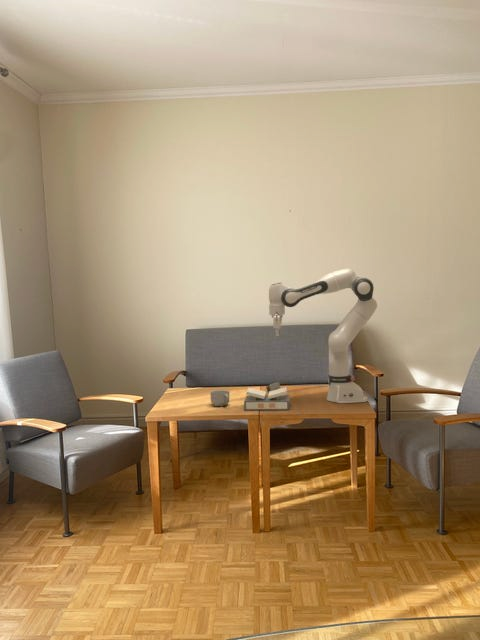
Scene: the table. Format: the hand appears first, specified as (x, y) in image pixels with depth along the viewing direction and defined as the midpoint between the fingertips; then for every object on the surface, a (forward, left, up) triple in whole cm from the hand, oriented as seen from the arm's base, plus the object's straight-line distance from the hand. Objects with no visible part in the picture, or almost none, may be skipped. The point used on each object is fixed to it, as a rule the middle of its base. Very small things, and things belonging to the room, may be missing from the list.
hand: (277, 335), depth 315 cm
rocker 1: (+12, +18, -30) cm, 37 cm away
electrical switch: (+3, -2, -37) cm, 38 cm away
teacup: (+32, +14, -37) cm, 51 cm away
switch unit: (+6, +18, -37) cm, 42 cm away
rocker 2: (0, +18, -30) cm, 35 cm away
